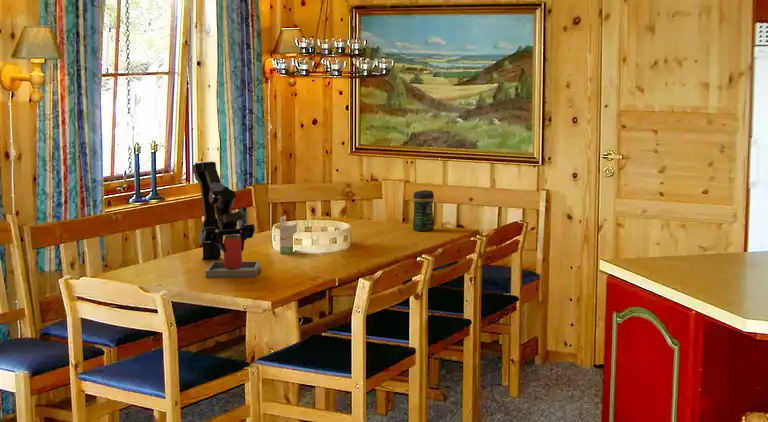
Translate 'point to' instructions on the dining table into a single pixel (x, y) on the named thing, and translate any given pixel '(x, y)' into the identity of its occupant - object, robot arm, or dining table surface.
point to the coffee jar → (423, 210)
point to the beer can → (232, 252)
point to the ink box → (286, 236)
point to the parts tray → (246, 271)
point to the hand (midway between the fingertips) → (233, 251)
